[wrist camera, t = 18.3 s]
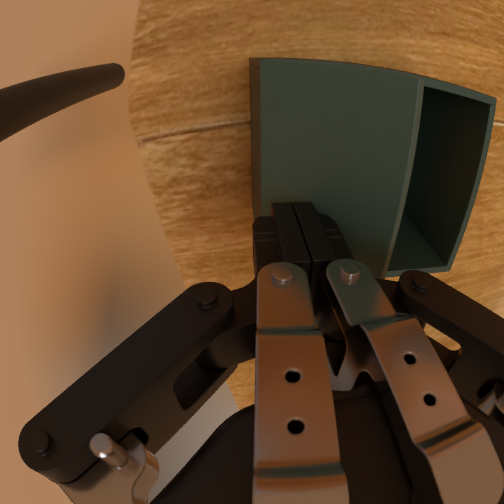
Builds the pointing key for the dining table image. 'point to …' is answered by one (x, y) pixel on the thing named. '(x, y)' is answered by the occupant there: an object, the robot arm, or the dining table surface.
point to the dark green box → (421, 169)
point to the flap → (341, 148)
